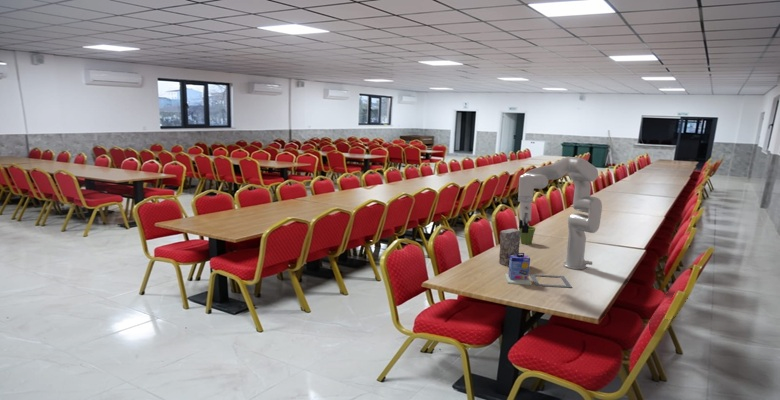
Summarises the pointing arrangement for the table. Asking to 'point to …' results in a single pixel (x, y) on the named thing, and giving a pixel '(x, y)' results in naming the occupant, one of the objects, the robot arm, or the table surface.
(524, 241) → the plant pot
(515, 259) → the ink cartridge box
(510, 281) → the sage board
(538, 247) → the table surface
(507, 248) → the stone block
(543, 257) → the table surface
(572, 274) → the table surface
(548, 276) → the marked spot frame
